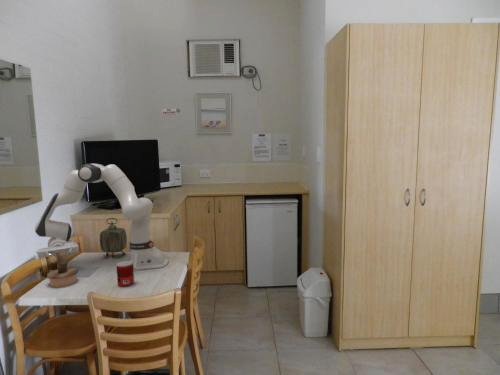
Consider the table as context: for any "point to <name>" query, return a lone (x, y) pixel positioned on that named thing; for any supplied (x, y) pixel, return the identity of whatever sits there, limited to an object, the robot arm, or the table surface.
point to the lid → (62, 268)
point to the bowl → (63, 281)
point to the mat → (86, 271)
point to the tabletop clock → (113, 239)
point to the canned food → (125, 273)
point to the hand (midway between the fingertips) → (59, 254)
